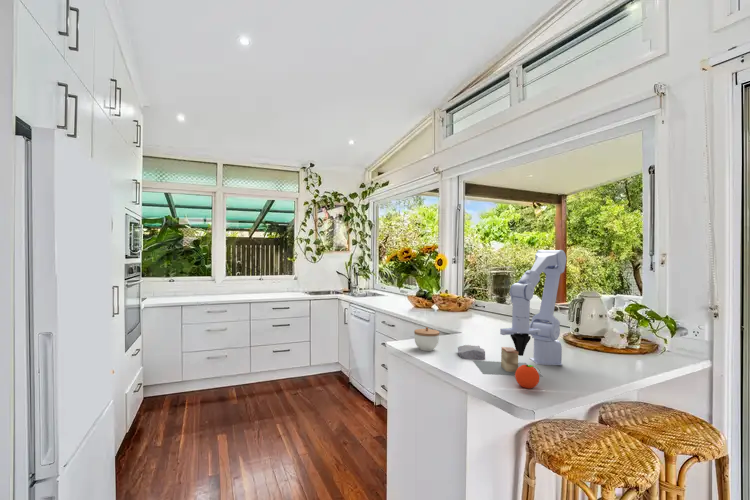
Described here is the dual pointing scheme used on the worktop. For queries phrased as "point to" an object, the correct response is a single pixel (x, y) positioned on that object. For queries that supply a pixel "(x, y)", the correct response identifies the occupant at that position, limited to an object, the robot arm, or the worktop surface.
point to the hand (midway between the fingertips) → (519, 355)
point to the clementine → (527, 376)
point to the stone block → (471, 352)
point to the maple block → (509, 359)
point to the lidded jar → (426, 339)
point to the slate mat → (495, 368)
